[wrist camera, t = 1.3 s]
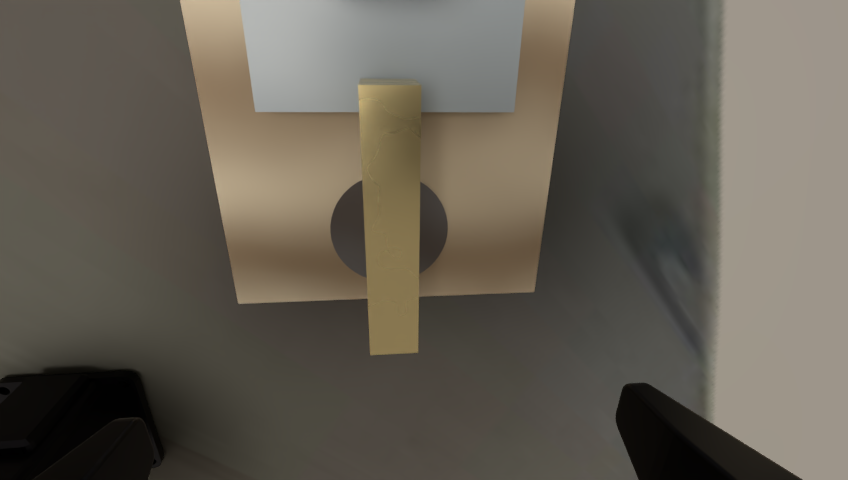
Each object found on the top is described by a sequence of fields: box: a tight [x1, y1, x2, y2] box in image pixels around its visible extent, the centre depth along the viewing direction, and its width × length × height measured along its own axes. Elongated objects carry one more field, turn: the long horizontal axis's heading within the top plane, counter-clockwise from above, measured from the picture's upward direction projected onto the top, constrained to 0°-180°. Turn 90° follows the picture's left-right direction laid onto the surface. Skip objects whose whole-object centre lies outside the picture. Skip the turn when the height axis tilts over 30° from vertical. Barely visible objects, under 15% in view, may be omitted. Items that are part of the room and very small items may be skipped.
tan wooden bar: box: [358, 78, 421, 355], centre depth 14 cm, size 8×2×3 cm, turn 179°
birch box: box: [180, 0, 575, 304], centre depth 16 cm, size 16×12×4 cm
